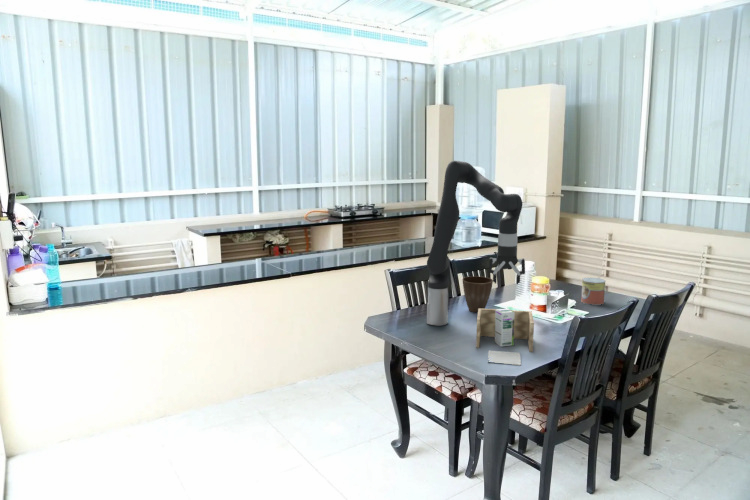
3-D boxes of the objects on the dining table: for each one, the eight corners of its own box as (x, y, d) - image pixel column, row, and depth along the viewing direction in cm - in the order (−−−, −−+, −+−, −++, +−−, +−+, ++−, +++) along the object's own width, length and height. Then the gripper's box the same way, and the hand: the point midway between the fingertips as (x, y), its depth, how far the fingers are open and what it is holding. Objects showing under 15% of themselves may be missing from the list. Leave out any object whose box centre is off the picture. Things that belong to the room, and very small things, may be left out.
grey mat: (487, 362, 197) (487, 361, 197) (488, 351, 208) (488, 350, 208) (520, 365, 194) (521, 364, 194) (519, 353, 205) (519, 352, 205)
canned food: (576, 300, 280) (577, 278, 278) (593, 298, 284) (595, 277, 282) (590, 306, 270) (592, 283, 268) (608, 304, 273) (610, 281, 271)
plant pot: (492, 307, 269) (493, 277, 266) (491, 315, 254) (492, 283, 252) (463, 305, 272) (463, 275, 269) (460, 313, 258) (461, 282, 255)
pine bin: (476, 347, 212) (476, 319, 210) (477, 334, 227) (478, 308, 225) (532, 352, 207) (534, 323, 205) (530, 338, 222) (531, 311, 220)
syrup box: (501, 347, 213) (502, 312, 210) (494, 342, 218) (495, 308, 216) (513, 345, 214) (515, 311, 212) (506, 340, 220) (507, 307, 217)
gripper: (525, 243, 211) (524, 282, 214) (489, 242, 214) (488, 280, 217) (526, 246, 204) (524, 286, 207) (489, 245, 207) (488, 285, 210)
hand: (506, 283), depth 212 cm, fingers open, 8 cm apart
